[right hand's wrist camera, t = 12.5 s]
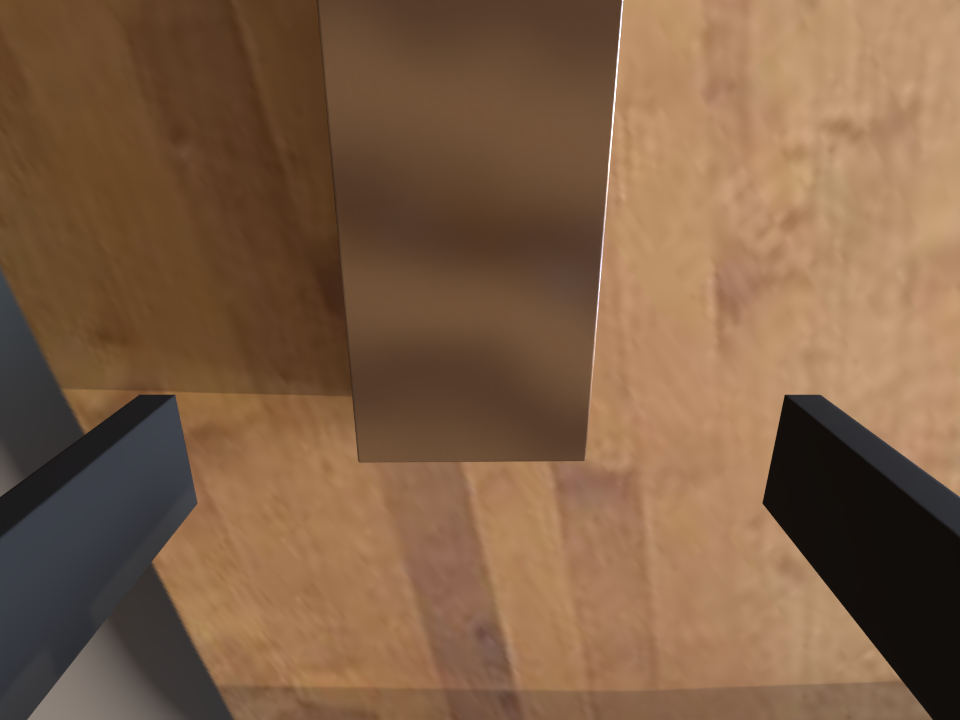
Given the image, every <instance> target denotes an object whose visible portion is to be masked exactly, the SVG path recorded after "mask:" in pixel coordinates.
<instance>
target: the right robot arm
mask: <svg viewBox="0 0 960 720" xmlns="http://www.w3.org/2000/svg"><path fill="white" fill-rule="evenodd" d="M196 505H197V499H196V494H195V489H194V484H193V479H192V474H191V470H190V465H189V460H188V455H187V450H186V445H185V440H184V435H183V431H182V426H181V421H180V416H179V411H178V406H177V401H176V397H175V395H139V396H137V397H136V398H135V399H133V400H132V401H131V402H129V403H128V404H126V405H125V406H124V407H122V408H121V409H120V410H118V411H117V412H116V413H114V414H113V415H111V416H110V417H109V418H107V419H106V420H105V421H103V422H102V423H101V424H99V425H98V426H96V427H95V428H94V429H92V430H91V431H90V432H88V433H87V434H86V435H84V436H83V437H81V438H80V439H79V440H77V441H76V442H75V443H73V444H72V445H71V446H69V447H68V448H66V449H65V450H64V451H62V452H61V453H60V454H58V455H57V456H56V457H54V458H53V459H52V460H50V461H49V462H47V463H46V464H45V465H43V466H42V467H41V468H39V469H38V470H37V471H35V472H34V473H32V474H31V475H30V476H28V477H27V478H26V479H24V480H23V481H22V482H20V483H19V484H17V485H16V486H15V487H13V488H12V489H11V490H9V491H8V492H7V493H5V494H4V495H2V496H1V497H0V720H27V719H28V718H29V716H30V715H31V714H32V713H33V711H34V710H35V709H36V708H37V706H38V705H39V704H40V702H41V701H42V700H43V699H44V697H45V696H46V695H47V694H48V692H49V691H50V690H51V689H52V687H53V686H54V685H55V683H56V682H57V681H58V680H59V678H60V677H61V676H62V675H63V673H64V672H65V671H66V669H67V668H68V667H69V666H70V664H71V663H72V662H73V661H74V659H75V658H76V657H77V655H78V654H79V653H80V652H81V650H82V649H83V648H84V647H85V645H86V644H87V643H88V642H89V640H90V639H91V638H92V637H93V635H94V634H95V633H96V631H97V630H98V629H99V628H100V626H101V625H102V624H103V623H104V621H105V620H106V619H107V617H108V616H109V615H110V614H111V612H112V611H113V610H114V609H115V607H116V606H117V605H118V604H119V602H120V601H121V600H122V598H123V597H124V596H125V595H126V593H127V592H128V591H129V590H130V588H131V587H132V586H133V584H134V583H135V582H136V581H137V579H138V578H139V577H140V576H141V574H142V573H143V572H144V571H145V569H146V568H147V567H148V565H149V564H150V563H151V562H152V560H153V559H154V558H155V557H156V555H157V554H158V553H159V552H160V550H161V549H162V548H163V546H164V545H165V544H166V543H167V541H168V540H169V539H170V538H171V536H172V535H173V534H174V533H175V531H176V530H177V529H178V527H179V526H180V525H181V524H182V522H183V521H184V520H185V519H186V517H187V516H188V515H189V513H190V512H191V511H192V510H193V508H194V507H195V506H196ZM763 505H764V506H765V507H766V508H767V510H768V511H769V512H770V513H771V515H772V516H773V517H774V519H775V520H776V521H777V522H778V524H779V525H780V526H781V527H782V529H783V530H784V531H785V533H786V534H787V535H788V536H789V538H790V539H791V540H792V541H793V543H794V544H795V545H796V546H797V548H798V549H799V550H800V552H801V553H802V554H803V555H804V557H805V558H806V559H807V560H808V562H809V563H810V564H811V565H812V567H813V568H814V569H815V571H816V572H817V573H818V574H819V576H820V577H821V578H822V579H823V581H824V582H825V583H826V585H827V586H828V587H829V588H830V590H831V591H832V592H833V593H834V595H835V596H836V597H837V598H838V600H839V601H840V602H841V604H842V605H843V606H844V607H845V609H846V610H847V611H848V612H849V614H850V615H851V616H852V617H853V619H854V620H855V621H856V623H857V624H858V625H859V626H860V628H861V629H862V630H863V631H864V633H865V634H866V635H867V637H868V638H869V639H870V640H871V642H872V643H873V644H874V645H875V647H876V648H877V649H878V650H879V652H880V653H881V654H882V656H883V657H884V658H885V659H886V661H887V662H888V663H889V664H890V666H891V667H892V668H893V670H894V671H895V672H896V673H897V675H898V676H899V677H900V678H901V680H902V681H903V682H904V683H905V685H906V686H907V687H908V689H909V690H910V691H911V692H912V694H913V695H914V696H915V697H916V699H917V700H918V701H919V702H920V704H921V705H922V706H923V708H924V709H925V710H926V711H927V713H928V714H929V715H930V716H931V718H932V719H933V720H960V497H959V496H958V495H956V494H955V493H953V492H952V491H951V490H949V489H948V488H947V487H945V486H944V485H943V484H941V483H940V482H938V481H937V480H936V479H934V478H933V477H932V476H930V475H929V474H928V473H926V472H925V471H924V470H922V469H921V468H919V467H918V466H917V465H915V464H914V463H913V462H911V461H910V460H909V459H907V458H906V457H904V456H903V455H902V454H900V453H899V452H898V451H896V450H895V449H894V448H892V447H891V446H889V445H888V444H887V443H885V442H884V441H883V440H881V439H880V438H879V437H877V436H876V435H874V434H873V433H872V432H870V431H869V430H868V429H866V428H865V427H864V426H862V425H861V424H859V423H858V422H857V421H855V420H854V419H853V418H851V417H850V416H849V415H847V414H846V413H844V412H843V411H842V410H840V409H839V408H838V407H836V406H835V405H834V404H832V403H831V402H829V401H828V400H827V399H825V398H824V397H823V396H821V395H785V397H784V401H783V406H782V411H781V416H780V421H779V426H778V431H777V435H776V440H775V445H774V450H773V455H772V460H771V465H770V470H769V474H768V479H767V484H766V489H765V494H764V499H763Z"/></svg>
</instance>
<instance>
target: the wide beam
mask: <svg viewBox="0 0 960 720" xmlns="http://www.w3.org/2000/svg"><path fill="white" fill-rule="evenodd" d="M317 9H318V20H319V31H320V42H321V53H322V64H323V75H324V86H325V98H326V109H327V120H328V131H329V142H330V153H331V164H332V175H333V187H334V198H335V209H336V220H337V231H338V242H339V253H340V264H341V276H342V287H343V298H344V309H345V320H346V331H347V342H348V353H349V365H350V376H351V387H352V398H353V409H354V420H355V431H356V442H357V454H358V461H359V462H501V461H585V460H586V451H587V439H588V427H589V415H590V402H591V390H592V378H593V366H594V354H595V341H596V329H597V317H598V305H599V293H600V280H601V268H602V256H603V244H604V231H605V219H606V207H607V195H608V183H609V170H610V158H611V146H612V134H613V121H614V109H615V97H616V85H617V73H618V60H619V48H620V36H621V24H622V11H623V0H317Z"/></svg>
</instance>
